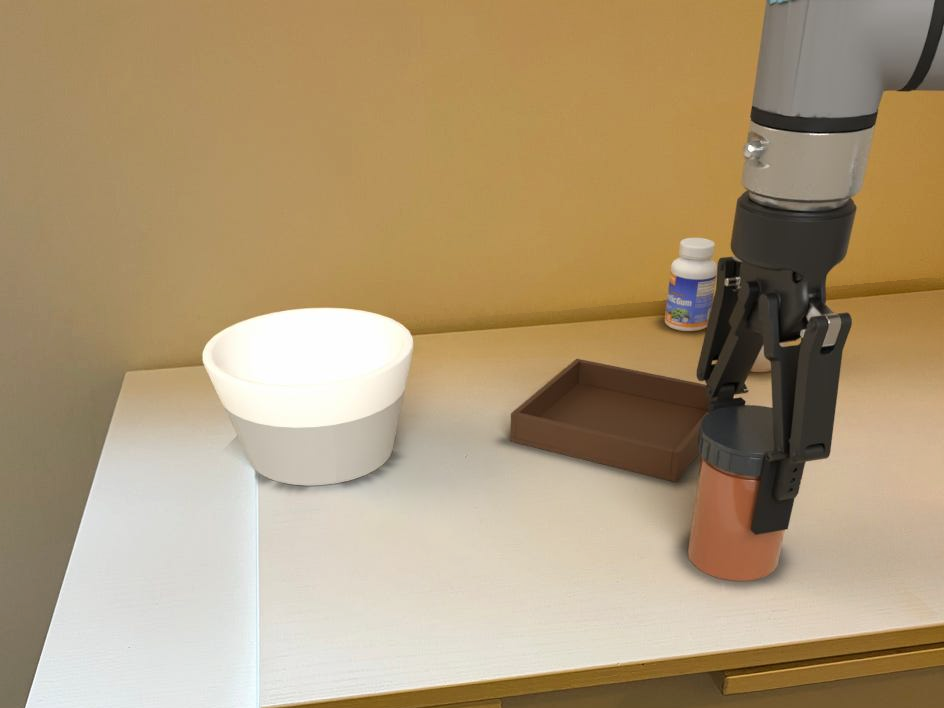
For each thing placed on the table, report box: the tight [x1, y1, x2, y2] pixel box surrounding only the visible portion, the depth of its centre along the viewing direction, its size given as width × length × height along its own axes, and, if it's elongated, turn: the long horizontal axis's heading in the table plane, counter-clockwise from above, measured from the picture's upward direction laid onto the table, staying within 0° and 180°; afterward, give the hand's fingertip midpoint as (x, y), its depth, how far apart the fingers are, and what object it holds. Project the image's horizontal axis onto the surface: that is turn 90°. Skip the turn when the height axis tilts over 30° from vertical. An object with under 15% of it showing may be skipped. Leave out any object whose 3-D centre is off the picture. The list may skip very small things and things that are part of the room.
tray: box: [509, 358, 710, 483], centre depth 99 cm, size 17×15×3 cm
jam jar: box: [687, 457, 786, 582], centre depth 78 cm, size 7×7×11 cm
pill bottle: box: [664, 237, 718, 332], centre depth 118 cm, size 5×5×10 cm
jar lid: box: [697, 404, 791, 477], centre depth 75 cm, size 8×8×2 cm
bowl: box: [202, 307, 415, 487], centre depth 94 cm, size 19×19×11 cm
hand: (741, 500), depth 78 cm, fingers closed on jar lid, 8 cm apart
